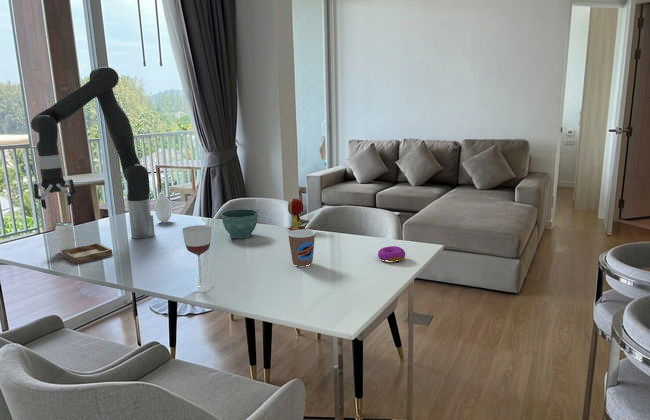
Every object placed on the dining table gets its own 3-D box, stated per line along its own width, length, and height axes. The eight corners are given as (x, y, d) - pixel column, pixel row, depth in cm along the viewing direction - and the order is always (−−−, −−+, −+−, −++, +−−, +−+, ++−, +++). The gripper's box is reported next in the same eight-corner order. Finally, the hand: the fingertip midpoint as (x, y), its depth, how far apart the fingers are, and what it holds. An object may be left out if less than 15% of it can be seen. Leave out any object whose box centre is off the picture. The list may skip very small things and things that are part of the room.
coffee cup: (295, 270, 170) (294, 238, 168) (284, 262, 179) (283, 231, 176) (321, 265, 175) (320, 234, 172) (309, 258, 184) (308, 227, 181)
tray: (98, 248, 202) (97, 242, 202) (112, 255, 192) (111, 249, 191) (62, 256, 193) (61, 250, 192) (75, 264, 182) (74, 257, 182)
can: (68, 254, 195) (64, 225, 192) (55, 253, 196) (50, 225, 194) (79, 249, 201) (76, 222, 199) (66, 249, 202) (62, 221, 200)
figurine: (288, 227, 231) (287, 197, 228) (308, 227, 229) (307, 197, 226) (284, 232, 222) (283, 200, 219) (305, 232, 221) (304, 200, 218)
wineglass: (190, 284, 159) (185, 225, 155) (216, 283, 160) (212, 224, 156) (185, 293, 151) (180, 232, 147) (213, 292, 152) (208, 230, 148)
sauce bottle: (153, 223, 244) (150, 189, 240) (161, 220, 251) (158, 186, 247) (168, 224, 242) (164, 189, 239) (175, 220, 250) (172, 186, 246)
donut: (379, 255, 186) (379, 243, 185) (406, 256, 184) (406, 245, 183) (376, 263, 176) (376, 251, 175) (404, 265, 174) (404, 253, 173)
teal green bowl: (266, 234, 219) (265, 211, 217) (242, 243, 206) (240, 218, 204) (239, 230, 228) (238, 207, 226) (215, 238, 215) (213, 214, 212)
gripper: (69, 164, 196) (75, 202, 200) (28, 167, 188) (35, 208, 192) (72, 165, 190) (78, 205, 194) (30, 169, 182) (38, 211, 186)
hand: (57, 206), depth 193 cm, fingers open, 8 cm apart
